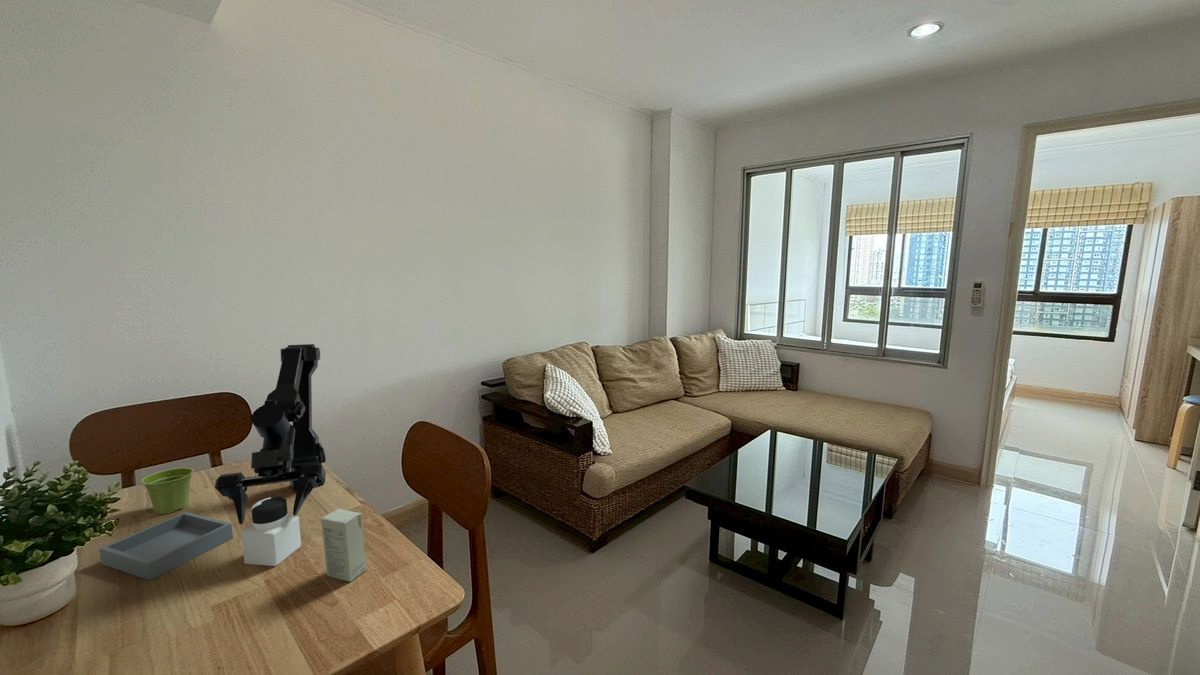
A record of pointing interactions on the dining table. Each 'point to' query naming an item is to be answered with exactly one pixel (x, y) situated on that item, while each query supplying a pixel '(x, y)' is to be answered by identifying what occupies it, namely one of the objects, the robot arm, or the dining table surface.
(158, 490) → the plant pot
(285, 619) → the dining table surface
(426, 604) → the dining table surface
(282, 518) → the medicine bottle
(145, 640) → the dining table surface
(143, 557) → the tray
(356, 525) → the skincare box
